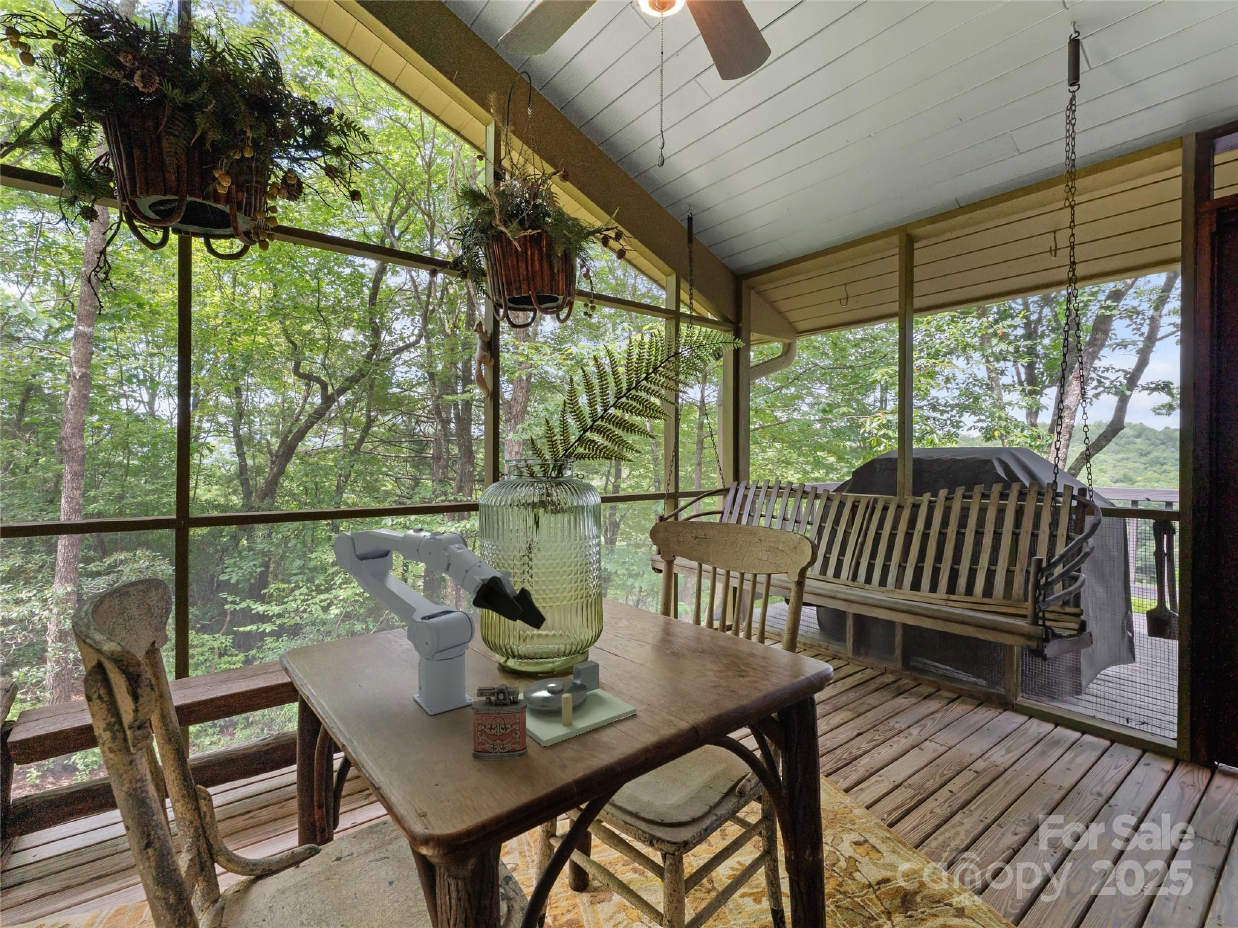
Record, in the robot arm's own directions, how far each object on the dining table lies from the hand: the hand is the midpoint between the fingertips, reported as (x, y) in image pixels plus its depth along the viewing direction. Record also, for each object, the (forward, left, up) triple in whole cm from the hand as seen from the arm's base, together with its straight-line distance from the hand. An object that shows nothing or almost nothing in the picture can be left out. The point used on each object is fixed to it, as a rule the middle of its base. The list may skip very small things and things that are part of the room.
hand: (530, 620), depth 89 cm
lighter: (+3, -7, -18) cm, 20 cm away
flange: (-5, +9, -16) cm, 19 cm away
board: (-4, +8, -18) cm, 20 cm away
